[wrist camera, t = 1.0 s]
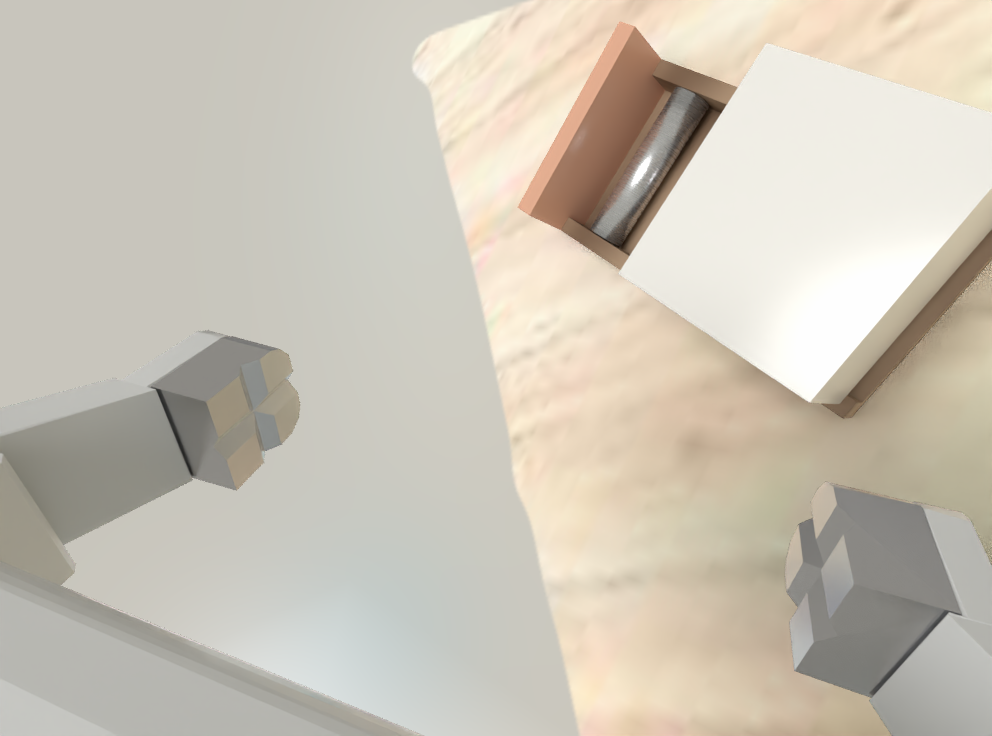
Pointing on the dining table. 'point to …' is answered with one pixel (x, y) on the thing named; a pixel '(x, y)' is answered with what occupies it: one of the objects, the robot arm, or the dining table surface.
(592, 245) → the roller track
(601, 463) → the dining table surface
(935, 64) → the dining table surface
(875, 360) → the off-white cardboard box
